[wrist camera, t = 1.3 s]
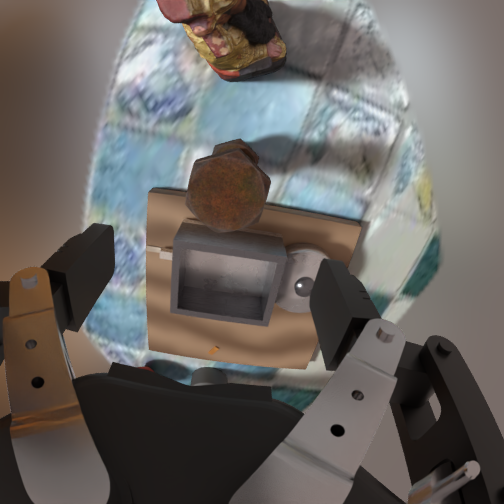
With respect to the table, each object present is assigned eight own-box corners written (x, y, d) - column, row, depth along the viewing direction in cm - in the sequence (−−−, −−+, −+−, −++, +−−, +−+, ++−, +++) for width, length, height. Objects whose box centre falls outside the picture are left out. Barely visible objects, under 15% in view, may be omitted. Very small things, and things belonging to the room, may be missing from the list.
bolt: (255, 127, 31) (262, 145, 17) (266, 170, 33) (280, 219, 20) (203, 141, 31) (171, 170, 18) (216, 183, 34) (195, 240, 20)
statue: (288, 76, 28) (345, 44, 11) (215, 90, 29) (169, 76, 11) (263, -17, 22) (282, -122, 5) (192, -3, 23) (134, -94, 6)
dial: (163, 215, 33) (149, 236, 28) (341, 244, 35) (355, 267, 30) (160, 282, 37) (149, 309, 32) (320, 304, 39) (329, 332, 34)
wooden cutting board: (152, 187, 34) (147, 192, 32) (357, 221, 36) (362, 228, 34) (151, 342, 45) (148, 350, 43) (304, 361, 47) (305, 370, 45)
